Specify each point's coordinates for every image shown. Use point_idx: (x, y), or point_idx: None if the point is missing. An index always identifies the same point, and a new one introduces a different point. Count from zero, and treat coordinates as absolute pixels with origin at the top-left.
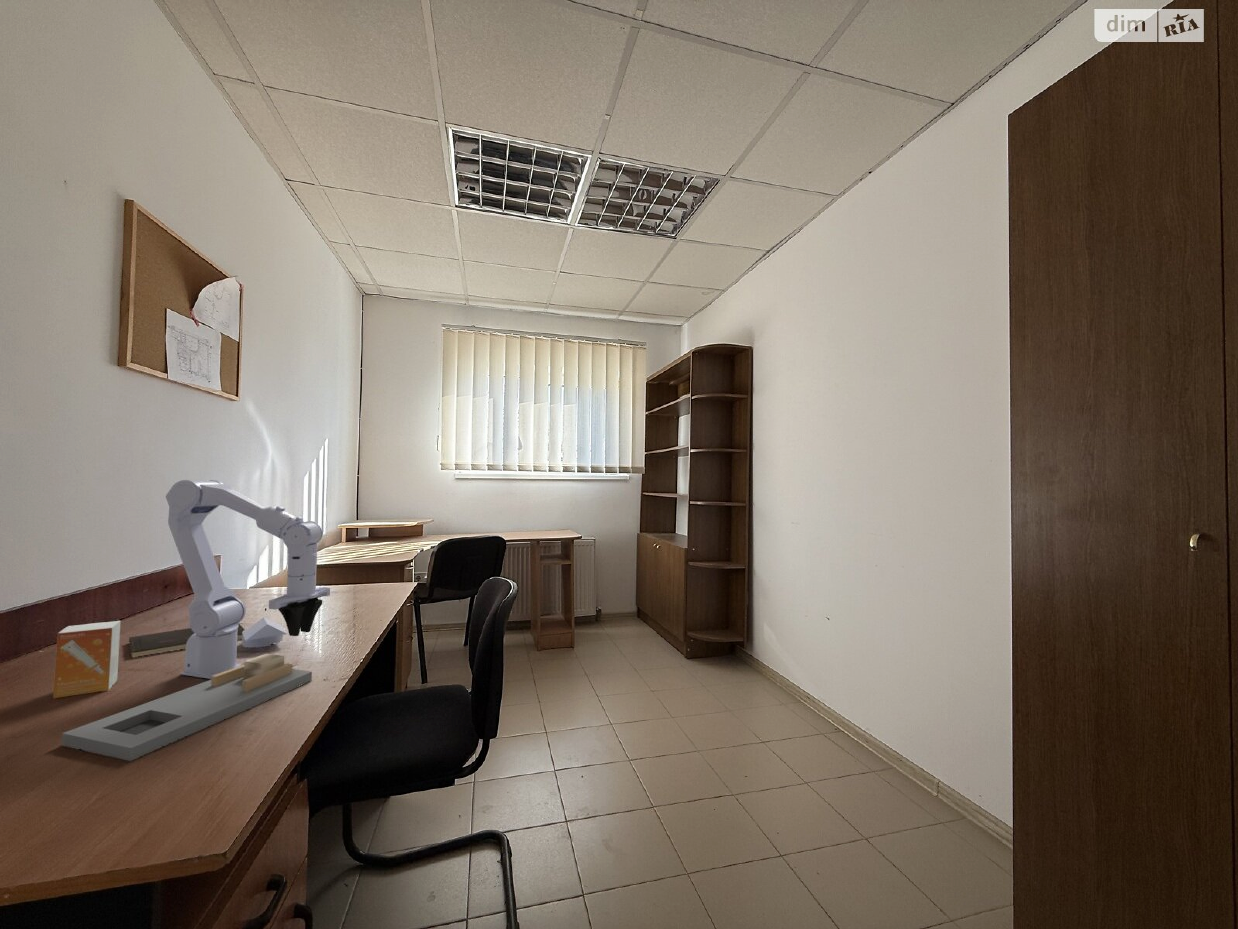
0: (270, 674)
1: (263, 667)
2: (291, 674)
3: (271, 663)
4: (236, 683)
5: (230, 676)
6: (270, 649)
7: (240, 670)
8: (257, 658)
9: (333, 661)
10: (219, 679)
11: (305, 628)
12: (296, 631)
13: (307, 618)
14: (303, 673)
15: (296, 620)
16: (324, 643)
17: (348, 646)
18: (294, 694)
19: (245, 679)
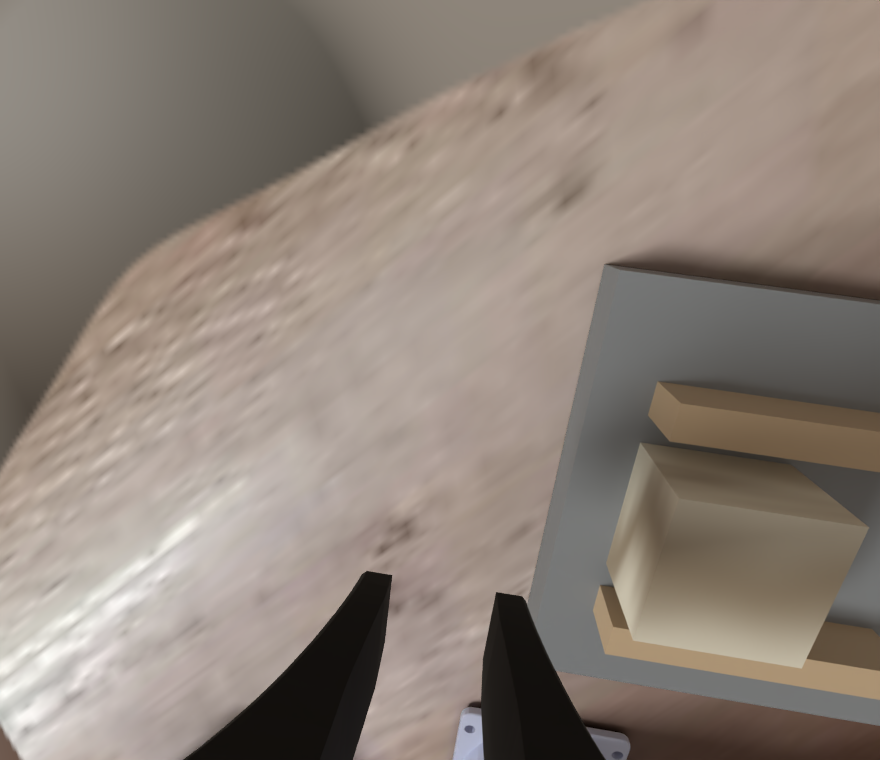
0: (854, 422)
1: (840, 509)
2: (678, 369)
3: (781, 503)
4: None
5: None
6: None
7: None
8: (741, 631)
9: (286, 360)
10: (876, 653)
11: (382, 628)
12: (537, 632)
13: (346, 720)
14: (658, 302)
15: (601, 755)
16: (75, 589)
17: (55, 441)
18: (822, 212)
19: None
